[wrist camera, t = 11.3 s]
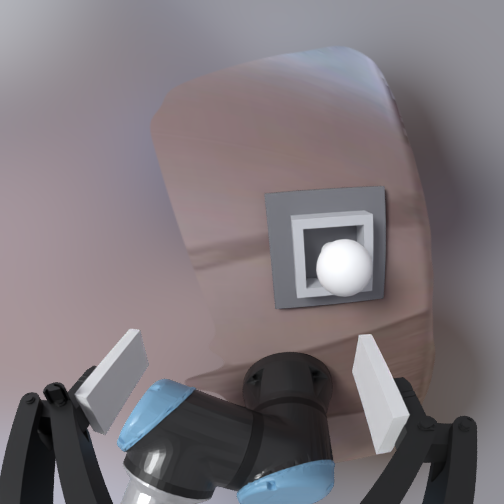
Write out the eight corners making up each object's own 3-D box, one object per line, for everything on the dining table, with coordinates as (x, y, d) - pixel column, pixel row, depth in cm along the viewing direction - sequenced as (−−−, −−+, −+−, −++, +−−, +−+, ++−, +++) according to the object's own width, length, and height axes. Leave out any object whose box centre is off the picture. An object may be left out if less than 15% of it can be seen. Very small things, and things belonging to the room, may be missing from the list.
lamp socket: (380, 294, 39) (391, 308, 35) (275, 305, 41) (274, 320, 37) (381, 186, 35) (394, 188, 31) (264, 193, 37) (263, 196, 33)
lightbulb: (353, 229, 36) (385, 248, 26) (347, 273, 38) (374, 306, 27) (309, 225, 36) (326, 243, 26) (304, 270, 38) (317, 304, 27)
